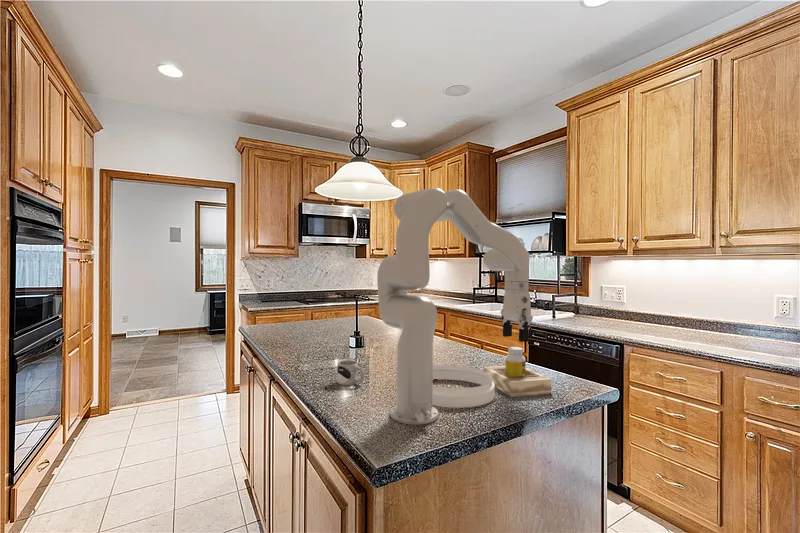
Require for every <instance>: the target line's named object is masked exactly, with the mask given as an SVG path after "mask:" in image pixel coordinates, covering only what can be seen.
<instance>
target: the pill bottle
mask: <svg viewBox="0 0 800 533" xmlns="http://www.w3.org/2000/svg"><path fill="white" fill-rule="evenodd" d="M507 352H508V354H507V355H506V356H505V360H504V366H505V374H506V375H508V376H510V377H516V376H525V370H526V368H527V367H526V357H525V356H524V355H523V353H524V348H523V347H519V346H509V347H508V348H507Z"/></svg>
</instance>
